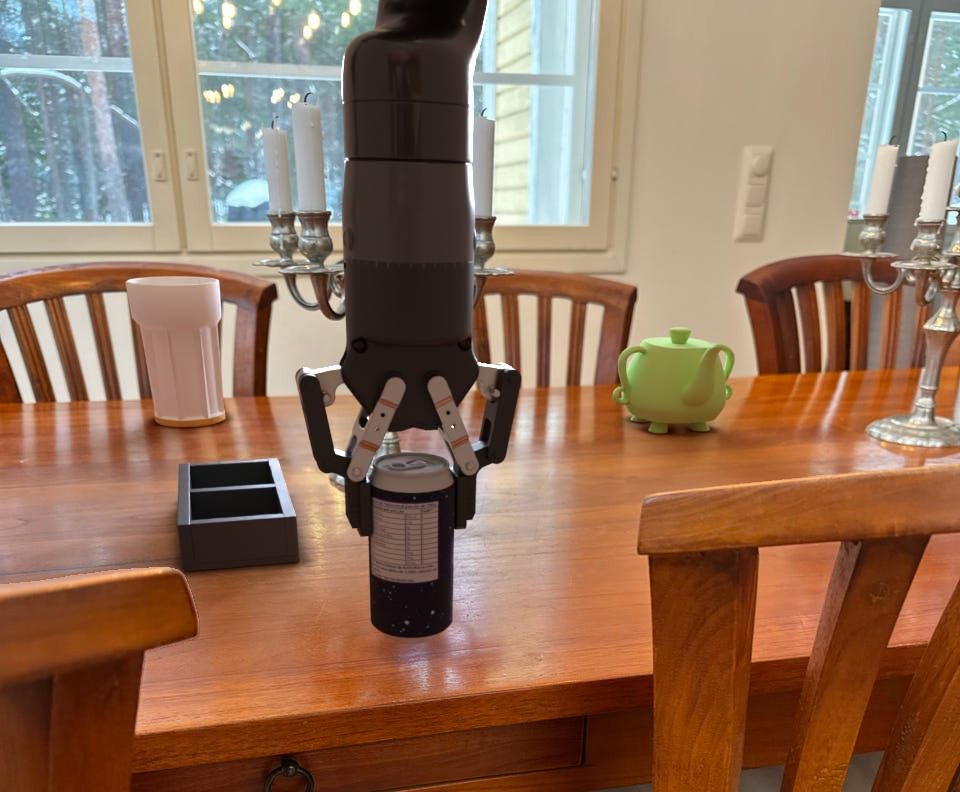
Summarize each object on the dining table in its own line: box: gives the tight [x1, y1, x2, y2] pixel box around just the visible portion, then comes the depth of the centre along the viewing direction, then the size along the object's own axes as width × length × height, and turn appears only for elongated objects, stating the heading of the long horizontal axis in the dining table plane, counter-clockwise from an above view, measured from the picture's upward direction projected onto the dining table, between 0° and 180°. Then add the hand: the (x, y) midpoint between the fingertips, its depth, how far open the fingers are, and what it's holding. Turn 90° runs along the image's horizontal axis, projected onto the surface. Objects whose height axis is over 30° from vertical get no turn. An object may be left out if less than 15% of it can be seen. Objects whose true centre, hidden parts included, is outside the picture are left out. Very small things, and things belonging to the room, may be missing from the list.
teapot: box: [612, 327, 736, 434], centre depth 119 cm, size 16×14×13 cm
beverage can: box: [367, 451, 455, 645], centre depth 60 cm, size 6×6×12 cm
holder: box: [176, 457, 301, 573], centre depth 82 cm, size 10×18×4 cm, turn 16°
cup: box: [125, 275, 226, 428], centre depth 116 cm, size 11×11×17 cm
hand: (410, 528), depth 59 cm, fingers closed on beverage can, 5 cm apart
